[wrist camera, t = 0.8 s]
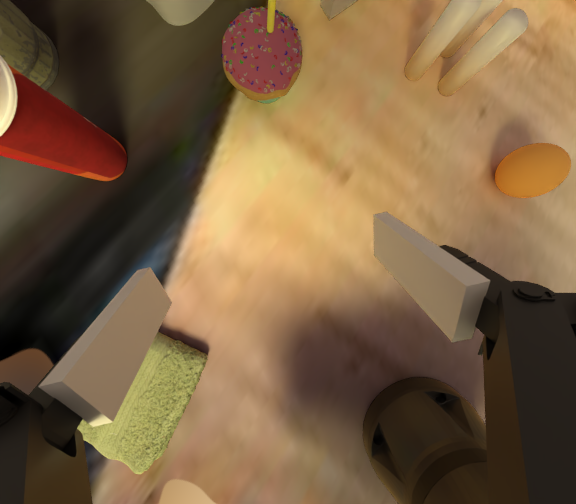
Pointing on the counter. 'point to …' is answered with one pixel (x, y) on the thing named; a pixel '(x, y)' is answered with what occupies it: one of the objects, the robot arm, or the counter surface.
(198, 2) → the lumpy-topped squat cylinder
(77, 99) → the counter surface
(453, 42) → the pin
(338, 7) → the white long bar
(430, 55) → the pin
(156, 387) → the washcloth
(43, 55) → the thermos
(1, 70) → the paper cup
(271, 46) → the cupcake
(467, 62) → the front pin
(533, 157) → the ball
